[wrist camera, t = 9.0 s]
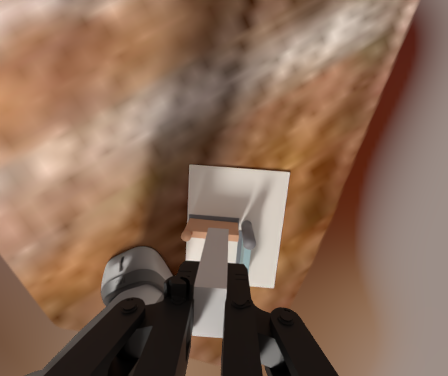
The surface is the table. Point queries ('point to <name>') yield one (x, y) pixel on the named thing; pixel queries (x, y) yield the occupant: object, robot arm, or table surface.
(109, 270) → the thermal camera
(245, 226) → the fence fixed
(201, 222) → the fence panel
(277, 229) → the card
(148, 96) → the table surface
